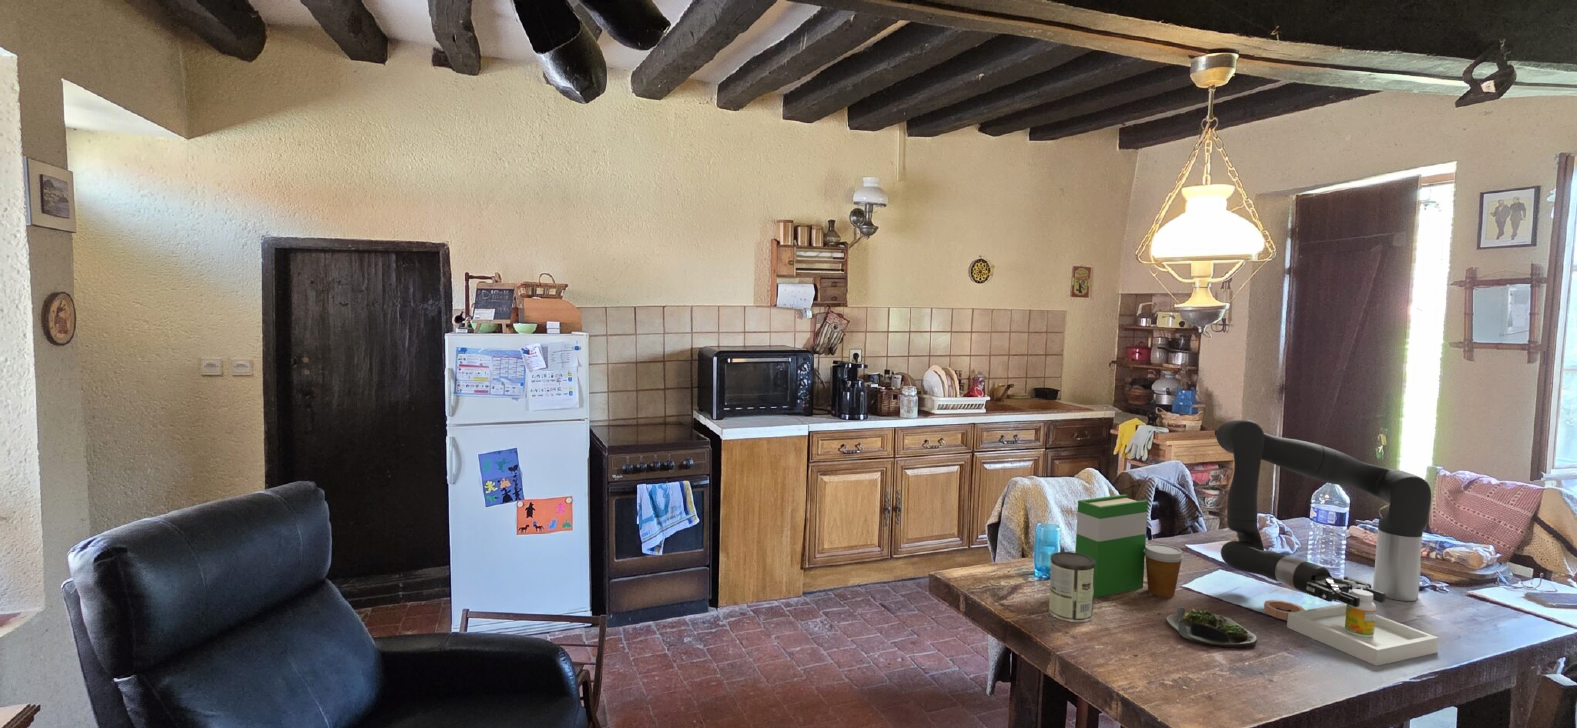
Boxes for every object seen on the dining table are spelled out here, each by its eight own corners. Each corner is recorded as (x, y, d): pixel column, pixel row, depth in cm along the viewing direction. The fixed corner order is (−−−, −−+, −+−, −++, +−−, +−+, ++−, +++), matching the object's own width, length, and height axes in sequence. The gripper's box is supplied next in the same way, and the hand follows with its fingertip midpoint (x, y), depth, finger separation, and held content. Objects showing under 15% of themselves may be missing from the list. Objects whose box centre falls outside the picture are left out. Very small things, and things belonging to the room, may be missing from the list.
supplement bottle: (1338, 628, 176) (1341, 587, 175) (1359, 627, 176) (1363, 587, 176) (1357, 638, 171) (1361, 596, 170) (1379, 637, 171) (1383, 596, 170)
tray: (1344, 616, 186) (1346, 603, 186) (1437, 652, 167) (1438, 637, 167) (1286, 627, 180) (1287, 612, 179) (1376, 665, 161) (1377, 649, 160)
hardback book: (1120, 578, 210) (1125, 494, 208) (1142, 587, 203) (1148, 500, 201) (1073, 587, 202) (1078, 500, 200) (1095, 597, 196) (1100, 507, 194)
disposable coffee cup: (1186, 601, 194) (1188, 556, 193) (1146, 597, 196) (1149, 553, 195) (1175, 587, 204) (1177, 544, 203) (1137, 584, 206) (1139, 541, 205)
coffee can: (1058, 602, 192) (1061, 548, 191) (1099, 614, 185) (1102, 558, 184) (1040, 613, 185) (1043, 558, 184) (1082, 626, 178) (1085, 568, 177)
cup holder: (1280, 605, 193) (1280, 598, 193) (1312, 618, 185) (1313, 611, 185) (1256, 609, 190) (1256, 602, 190) (1288, 622, 182) (1288, 615, 182)
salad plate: (1146, 613, 187) (1147, 595, 186) (1218, 614, 187) (1219, 597, 187) (1188, 649, 168) (1189, 629, 167) (1268, 651, 168) (1269, 631, 167)
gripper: (1282, 563, 183) (1351, 587, 168) (1323, 558, 188) (1394, 581, 173) (1280, 593, 184) (1348, 620, 169) (1321, 587, 189) (1391, 612, 174)
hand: (1371, 600), depth 171 cm, fingers open, 8 cm apart
